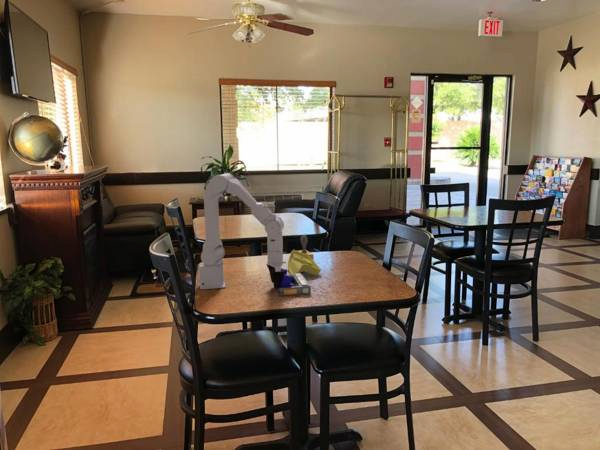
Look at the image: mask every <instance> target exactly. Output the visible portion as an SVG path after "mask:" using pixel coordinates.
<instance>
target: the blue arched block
mask: <svg viewBox="0 0 600 450" xmlns="http://www.w3.org/2000/svg"><path fill="white" fill-rule="evenodd" d="M281 270H285V273H284V275H283V277H282V281H281V286H280V288H282V287H295V285H294V283H293V282H291V280H292V276H289V275H290V274H288V268H287V269H286V268H282V267H281Z"/></svg>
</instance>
